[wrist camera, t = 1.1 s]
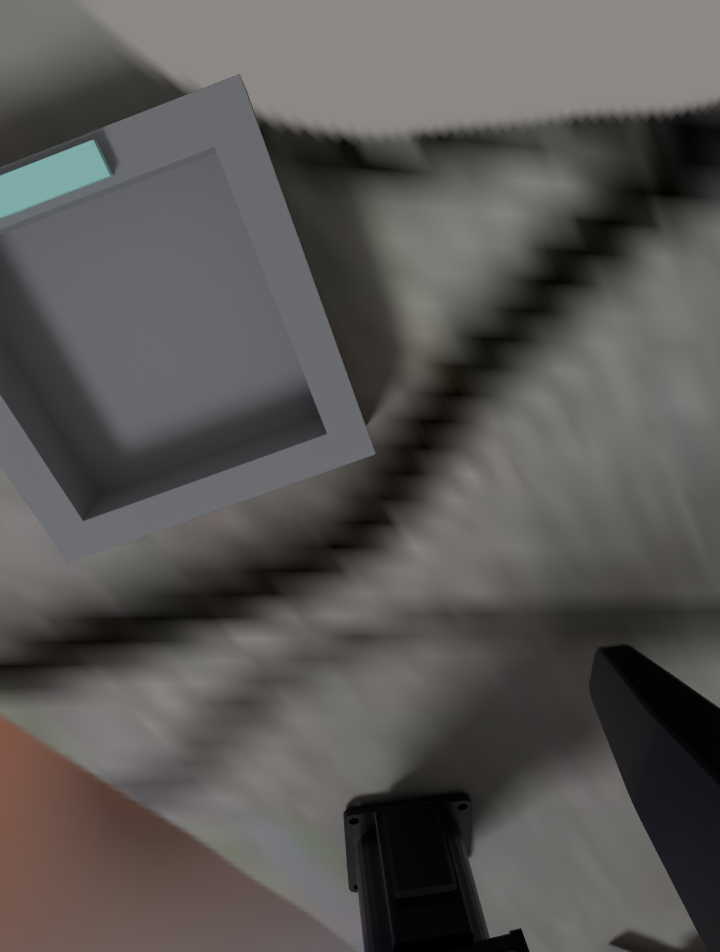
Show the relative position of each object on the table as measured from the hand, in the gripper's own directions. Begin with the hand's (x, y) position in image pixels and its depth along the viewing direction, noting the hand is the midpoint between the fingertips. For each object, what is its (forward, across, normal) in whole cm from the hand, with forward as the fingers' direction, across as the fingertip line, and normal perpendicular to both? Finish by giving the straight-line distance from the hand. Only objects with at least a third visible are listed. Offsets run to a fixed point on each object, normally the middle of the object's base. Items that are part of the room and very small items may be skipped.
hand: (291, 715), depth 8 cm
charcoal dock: (+14, +4, -2) cm, 14 cm away
